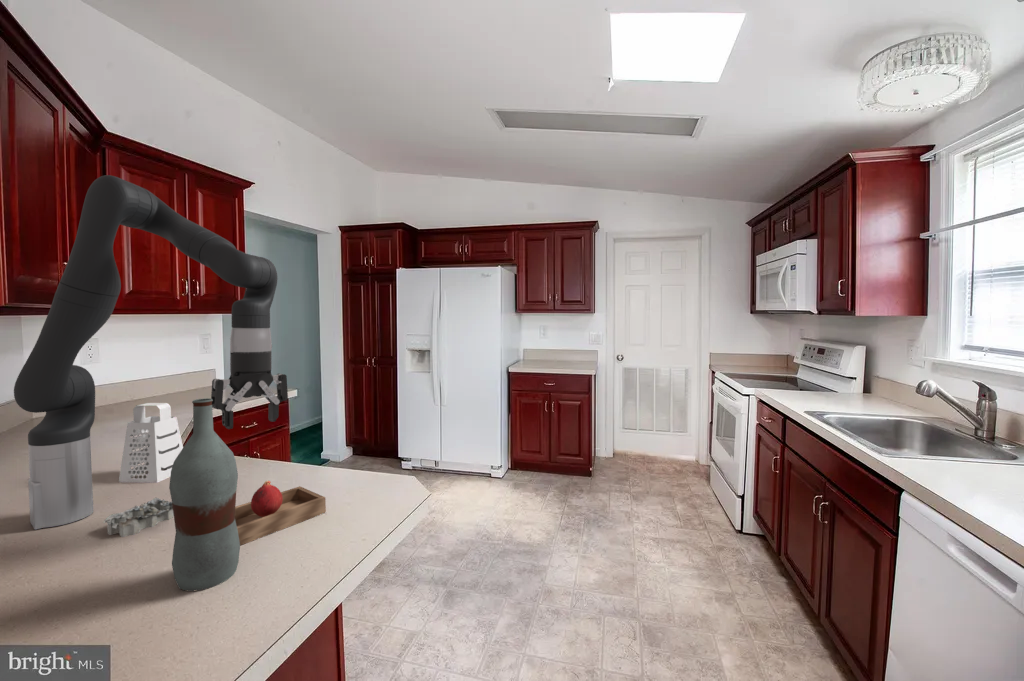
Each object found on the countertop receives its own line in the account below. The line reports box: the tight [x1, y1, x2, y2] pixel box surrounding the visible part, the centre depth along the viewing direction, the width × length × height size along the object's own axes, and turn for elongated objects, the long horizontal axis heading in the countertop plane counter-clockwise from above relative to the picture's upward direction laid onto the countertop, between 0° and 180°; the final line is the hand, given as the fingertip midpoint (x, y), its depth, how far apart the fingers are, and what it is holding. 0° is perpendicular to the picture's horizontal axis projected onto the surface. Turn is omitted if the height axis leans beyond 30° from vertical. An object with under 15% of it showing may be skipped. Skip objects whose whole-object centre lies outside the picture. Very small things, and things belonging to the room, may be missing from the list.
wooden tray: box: [235, 486, 327, 546], centre depth 91 cm, size 20×11×4 cm, turn 144°
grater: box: [118, 402, 184, 484], centre depth 119 cm, size 10×10×20 cm
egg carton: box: [102, 497, 174, 538], centre depth 90 cm, size 11×8×4 cm
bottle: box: [168, 397, 241, 592], centre depth 71 cm, size 9×9×30 cm
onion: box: [250, 480, 283, 517], centre depth 91 cm, size 6×6×8 cm
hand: (251, 424), depth 92 cm, fingers open, 8 cm apart
